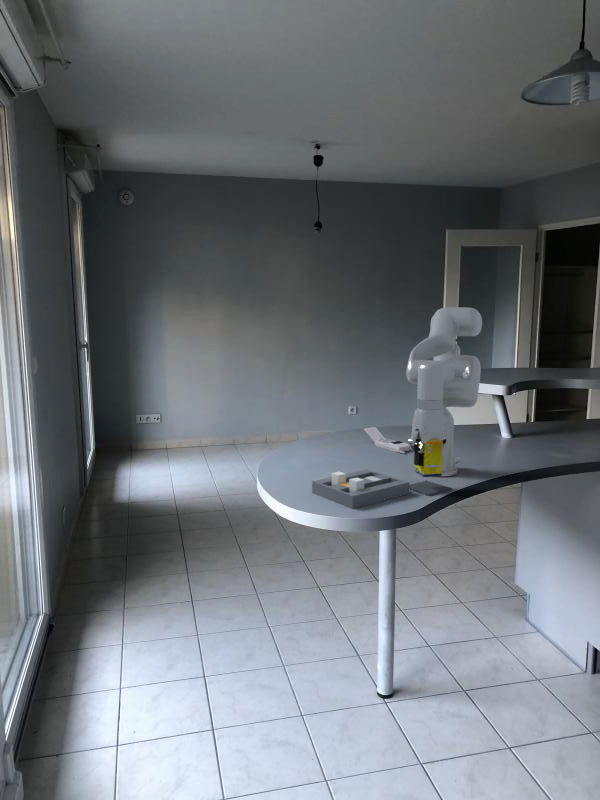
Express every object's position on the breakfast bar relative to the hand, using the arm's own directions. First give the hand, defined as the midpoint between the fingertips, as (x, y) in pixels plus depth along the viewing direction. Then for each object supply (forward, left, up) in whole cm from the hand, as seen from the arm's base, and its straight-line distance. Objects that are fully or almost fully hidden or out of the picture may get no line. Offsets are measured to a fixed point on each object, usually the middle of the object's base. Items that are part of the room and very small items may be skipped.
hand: (428, 463), depth 187 cm
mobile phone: (-30, -47, -9) cm, 56 cm away
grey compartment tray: (+19, -9, -8) cm, 22 cm away
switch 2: (+24, -5, -6) cm, 25 cm away
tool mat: (0, 0, -8) cm, 8 cm away
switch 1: (+24, -13, -6) cm, 28 cm away
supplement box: (0, 0, -4) cm, 4 cm away
